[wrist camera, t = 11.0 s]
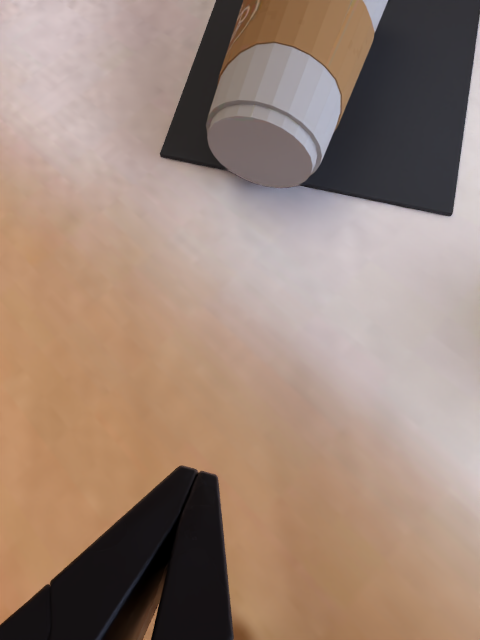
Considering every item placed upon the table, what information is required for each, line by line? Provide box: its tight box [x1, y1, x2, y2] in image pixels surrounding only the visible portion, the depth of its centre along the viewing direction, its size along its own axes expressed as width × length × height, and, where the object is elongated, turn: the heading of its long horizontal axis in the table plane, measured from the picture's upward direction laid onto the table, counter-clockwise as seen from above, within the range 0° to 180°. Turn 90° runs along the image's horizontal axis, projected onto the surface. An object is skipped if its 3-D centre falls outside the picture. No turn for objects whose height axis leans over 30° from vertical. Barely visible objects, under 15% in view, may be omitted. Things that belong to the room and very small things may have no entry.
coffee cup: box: [206, 0, 391, 188], centre depth 25 cm, size 8×8×15 cm
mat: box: [160, 0, 480, 216], centre depth 30 cm, size 22×18×1 cm
